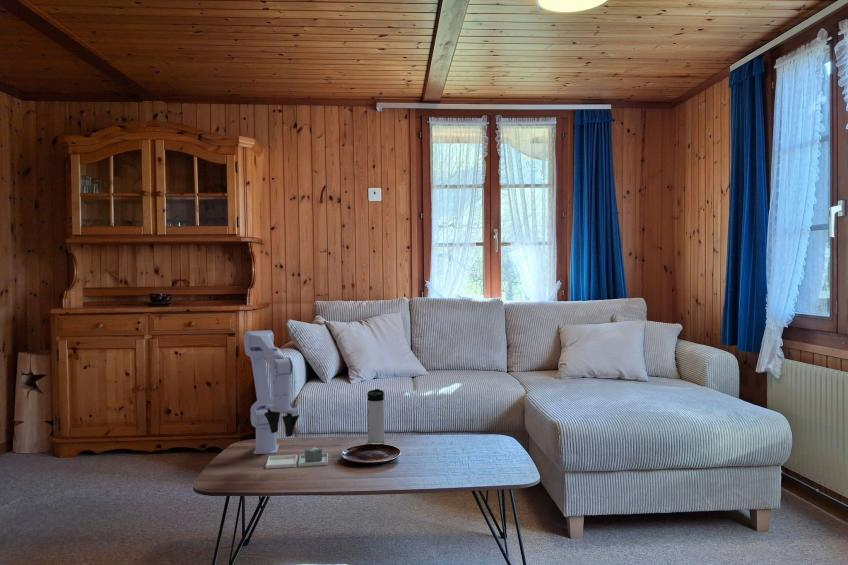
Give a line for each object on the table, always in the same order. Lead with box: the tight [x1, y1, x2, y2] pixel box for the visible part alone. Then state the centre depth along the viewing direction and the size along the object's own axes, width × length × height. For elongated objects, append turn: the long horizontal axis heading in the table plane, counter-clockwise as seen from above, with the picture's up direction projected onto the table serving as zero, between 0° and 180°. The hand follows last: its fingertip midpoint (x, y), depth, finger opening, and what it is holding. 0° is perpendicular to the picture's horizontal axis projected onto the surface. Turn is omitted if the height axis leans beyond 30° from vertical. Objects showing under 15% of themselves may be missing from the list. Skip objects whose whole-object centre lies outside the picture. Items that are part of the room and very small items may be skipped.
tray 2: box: [297, 452, 329, 468], centre depth 191 cm, size 10×10×1 cm
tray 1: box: [265, 454, 299, 470], centre depth 189 cm, size 10×10×1 cm
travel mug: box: [366, 388, 385, 444], centre depth 211 cm, size 6×7×20 cm
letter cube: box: [304, 446, 323, 463], centre depth 191 cm, size 4×4×4 cm
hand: (281, 434), depth 189 cm, fingers open, 7 cm apart
